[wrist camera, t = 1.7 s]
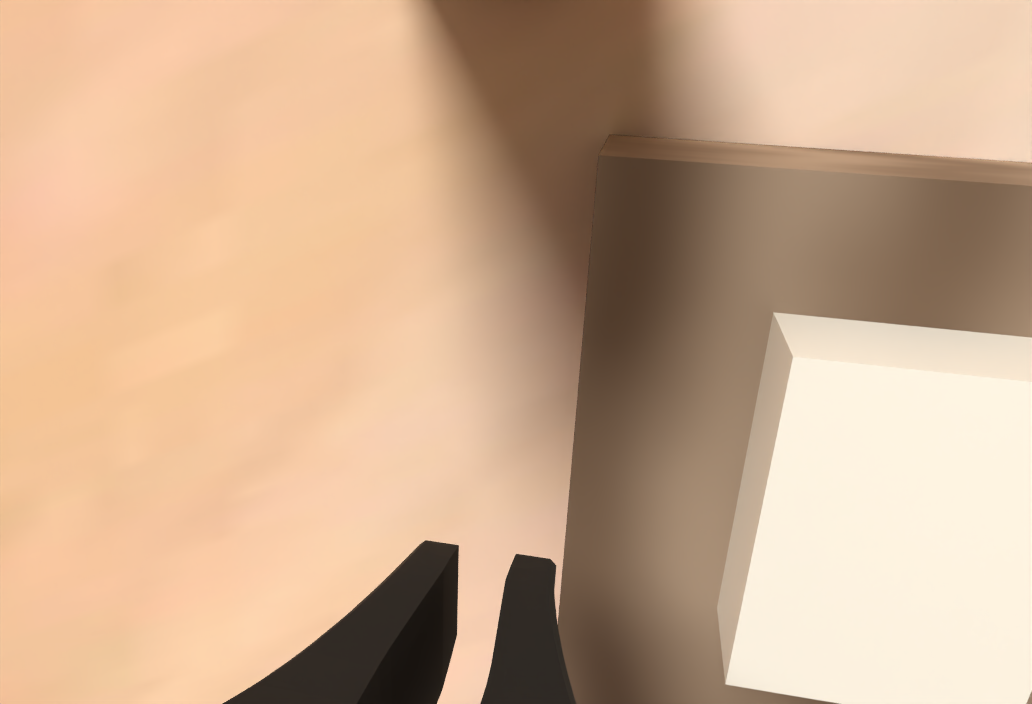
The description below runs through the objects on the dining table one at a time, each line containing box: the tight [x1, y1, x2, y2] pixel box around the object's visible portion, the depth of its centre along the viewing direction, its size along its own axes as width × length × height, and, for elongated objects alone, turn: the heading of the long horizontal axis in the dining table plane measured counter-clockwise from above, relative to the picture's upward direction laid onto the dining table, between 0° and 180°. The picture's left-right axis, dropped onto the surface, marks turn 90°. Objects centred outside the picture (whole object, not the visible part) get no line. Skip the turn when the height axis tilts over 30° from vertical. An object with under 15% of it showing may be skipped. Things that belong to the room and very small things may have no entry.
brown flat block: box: [558, 135, 1032, 704], centre depth 19 cm, size 14×16×4 cm
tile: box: [717, 312, 1032, 704], centre depth 16 cm, size 6×8×2 cm
